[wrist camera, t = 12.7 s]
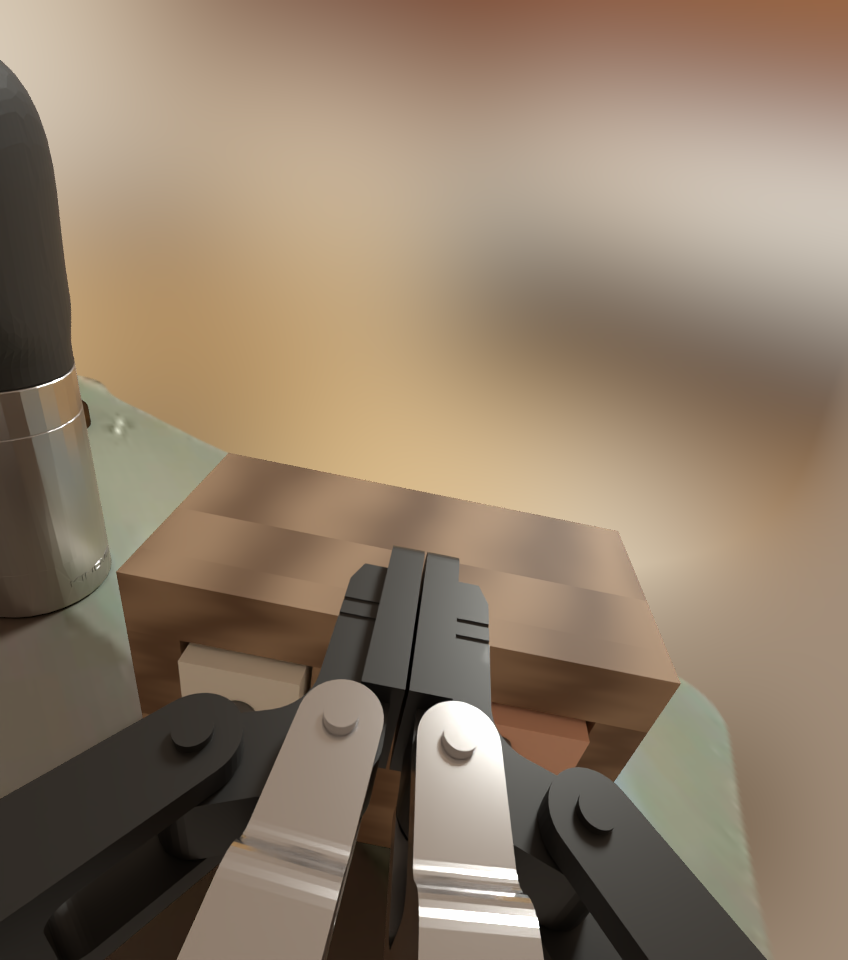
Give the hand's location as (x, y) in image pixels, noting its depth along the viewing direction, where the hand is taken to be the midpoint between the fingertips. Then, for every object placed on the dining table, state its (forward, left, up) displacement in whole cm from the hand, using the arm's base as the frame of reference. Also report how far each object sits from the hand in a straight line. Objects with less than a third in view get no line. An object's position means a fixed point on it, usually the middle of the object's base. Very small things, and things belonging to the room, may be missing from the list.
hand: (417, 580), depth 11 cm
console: (0, +10, -24) cm, 26 cm away
